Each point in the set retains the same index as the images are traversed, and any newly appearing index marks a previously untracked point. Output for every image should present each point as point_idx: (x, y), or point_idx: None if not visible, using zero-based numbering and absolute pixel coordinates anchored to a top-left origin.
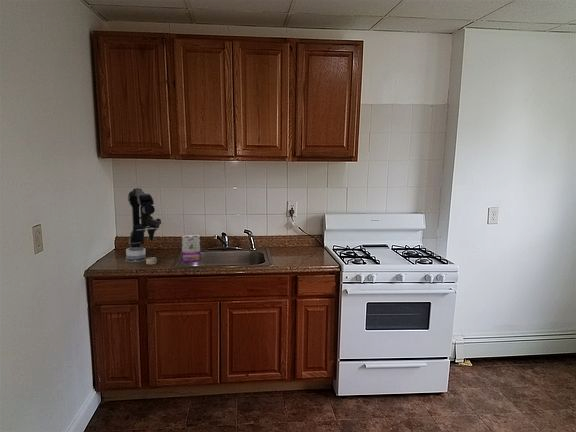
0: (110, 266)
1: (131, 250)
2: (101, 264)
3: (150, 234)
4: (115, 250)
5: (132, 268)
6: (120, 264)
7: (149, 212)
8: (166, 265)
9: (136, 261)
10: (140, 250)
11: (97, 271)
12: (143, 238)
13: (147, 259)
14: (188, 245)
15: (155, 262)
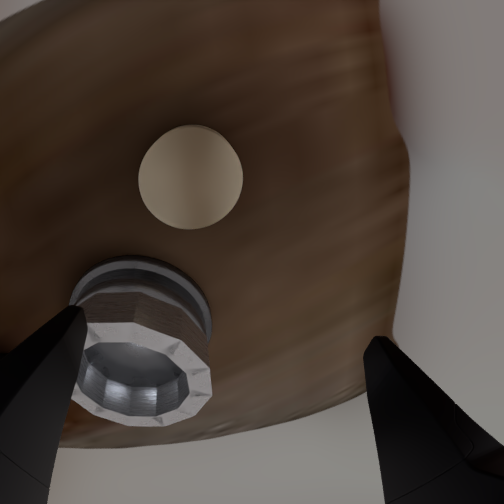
0: (312, 363)
1: (121, 399)
2: (276, 407)
3: (42, 429)
4: None
5: (359, 236)
6: (266, 346)
7: None
8: (249, 11)
9: (200, 292)
10: (161, 336)
11: None
12: (417, 373)
13: (233, 199)
14: None
15: (202, 126)
